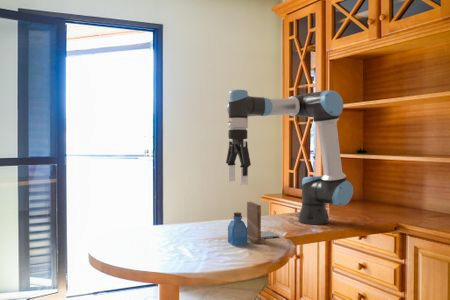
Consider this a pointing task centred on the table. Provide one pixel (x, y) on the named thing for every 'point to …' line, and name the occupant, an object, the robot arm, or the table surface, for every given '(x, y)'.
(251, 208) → the walnut screen
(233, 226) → the perfume bottle
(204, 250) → the table surface
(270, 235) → the slate tile
